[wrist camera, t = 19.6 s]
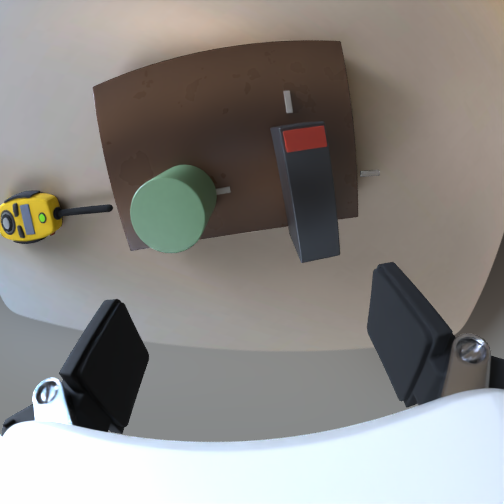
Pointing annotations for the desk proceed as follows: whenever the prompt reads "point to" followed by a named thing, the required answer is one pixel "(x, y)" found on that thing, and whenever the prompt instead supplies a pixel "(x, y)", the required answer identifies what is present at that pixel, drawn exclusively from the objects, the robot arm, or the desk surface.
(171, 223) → the green cylinder
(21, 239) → the yellow walkie-talkie
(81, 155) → the desk surface
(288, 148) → the block
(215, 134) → the base
